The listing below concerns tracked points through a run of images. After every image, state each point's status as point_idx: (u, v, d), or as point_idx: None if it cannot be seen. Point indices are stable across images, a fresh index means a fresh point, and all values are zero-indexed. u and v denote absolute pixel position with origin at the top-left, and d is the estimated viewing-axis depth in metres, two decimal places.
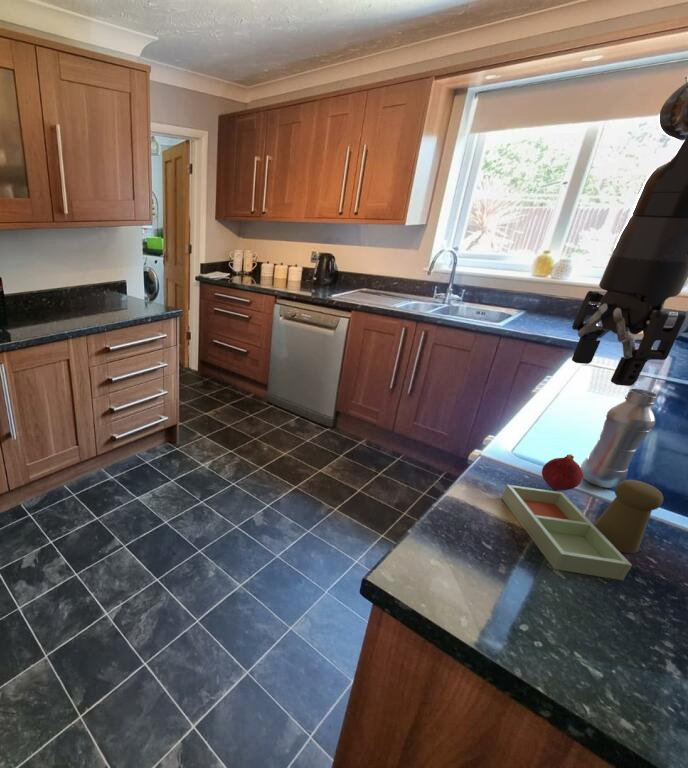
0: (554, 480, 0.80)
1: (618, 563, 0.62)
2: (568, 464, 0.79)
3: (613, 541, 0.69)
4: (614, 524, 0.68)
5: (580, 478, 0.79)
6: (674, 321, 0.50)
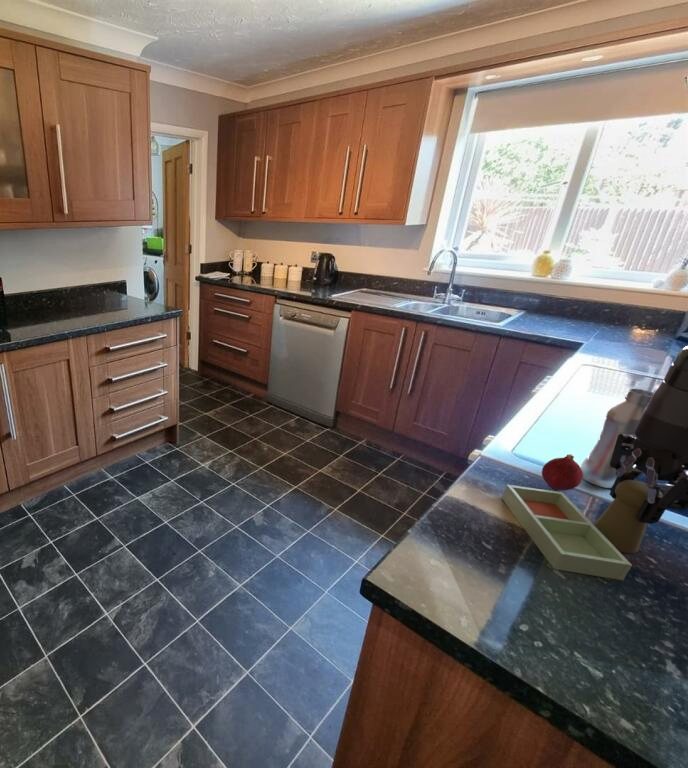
0: (554, 480, 0.80)
1: (618, 563, 0.62)
2: (568, 464, 0.79)
3: (613, 541, 0.69)
4: (614, 524, 0.68)
5: (580, 478, 0.79)
6: None
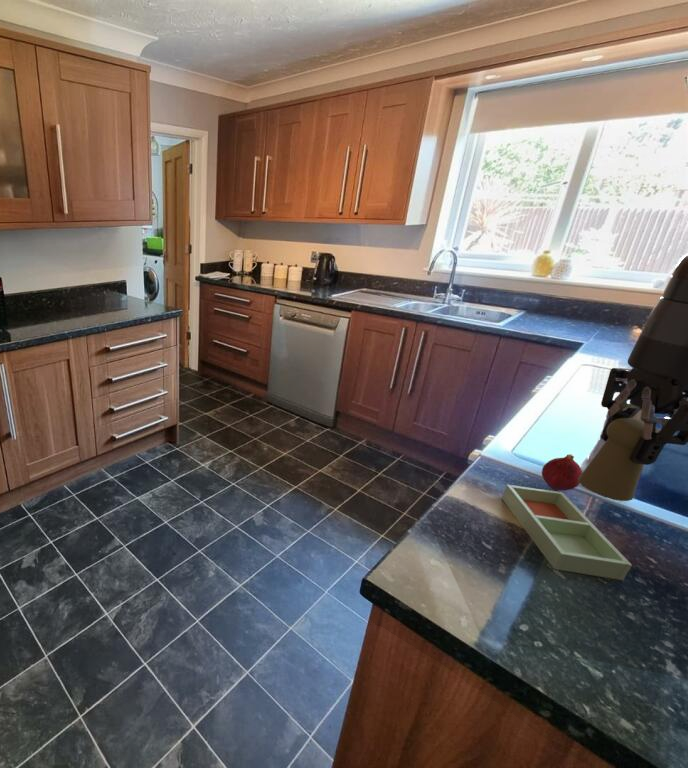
0: (554, 480, 0.80)
1: (618, 563, 0.62)
2: (568, 464, 0.79)
3: (604, 488, 0.61)
4: (605, 468, 0.60)
5: None
6: None
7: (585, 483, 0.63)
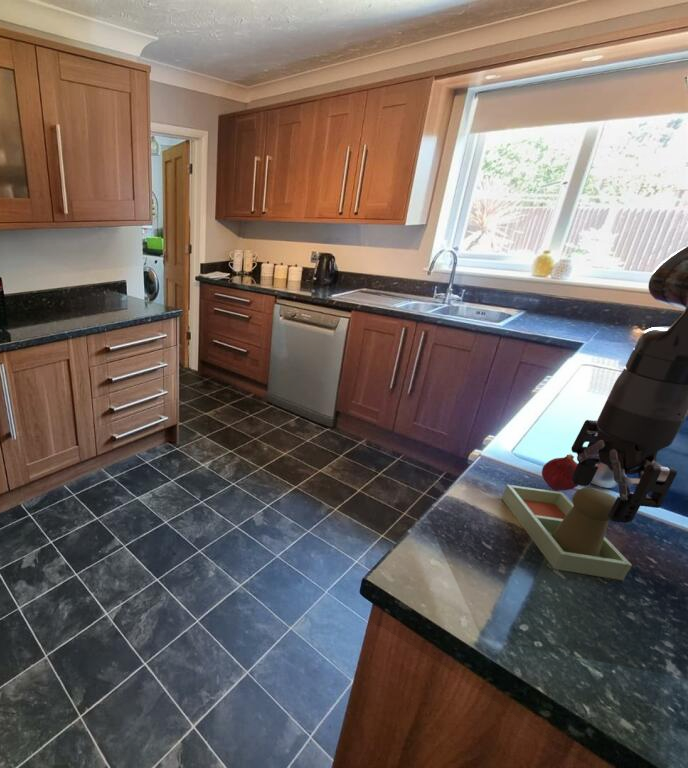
0: (554, 480, 0.80)
1: (618, 563, 0.62)
2: (568, 464, 0.79)
3: (570, 552, 0.65)
4: (571, 534, 0.65)
5: None
6: (666, 476, 0.54)
7: None
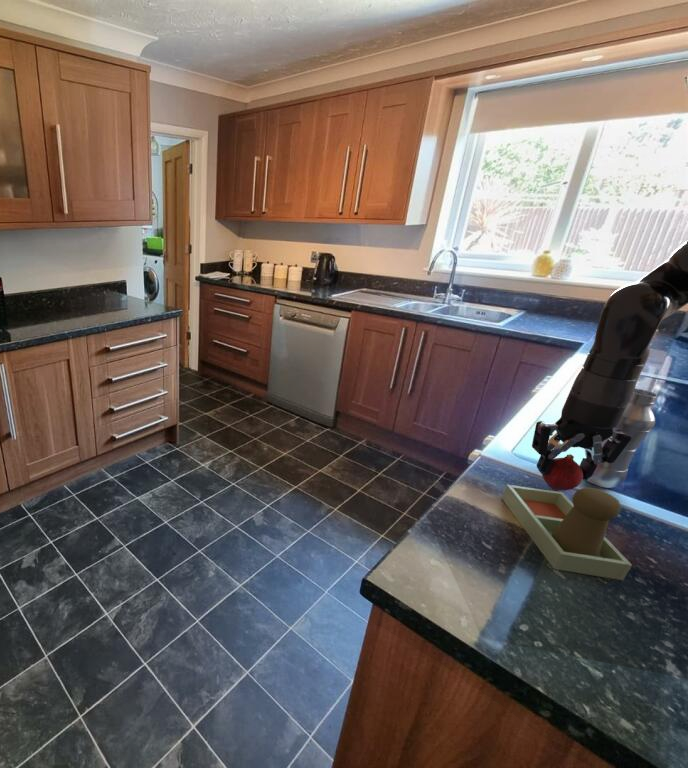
0: (554, 480, 0.80)
1: (618, 563, 0.62)
2: (568, 464, 0.79)
3: (570, 552, 0.65)
4: (571, 534, 0.65)
5: (580, 478, 0.79)
6: (540, 430, 0.79)
7: None
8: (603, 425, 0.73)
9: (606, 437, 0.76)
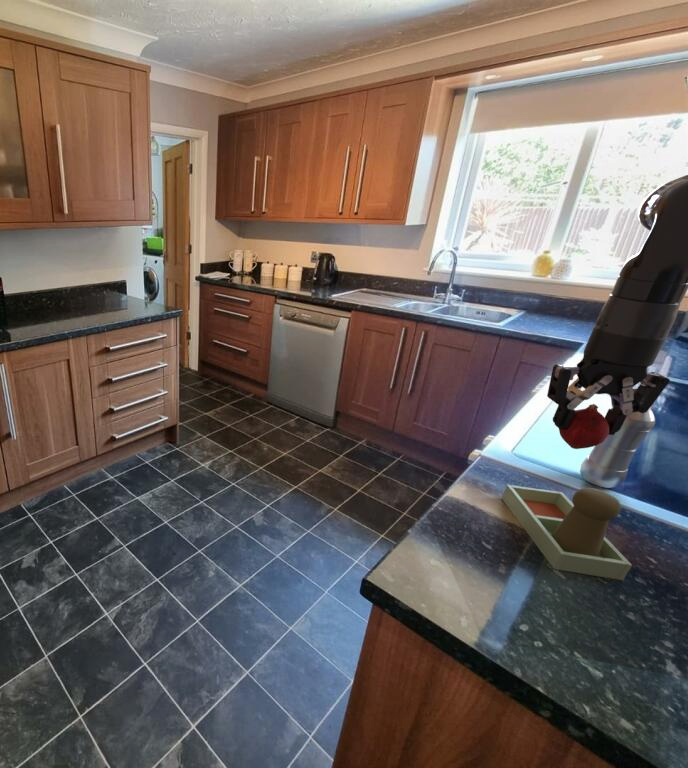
0: (574, 436, 0.67)
1: (618, 563, 0.62)
2: (592, 415, 0.66)
3: (570, 552, 0.65)
4: (571, 534, 0.65)
5: (606, 432, 0.65)
6: (558, 374, 0.65)
7: None
8: (636, 362, 0.60)
9: (638, 380, 0.63)
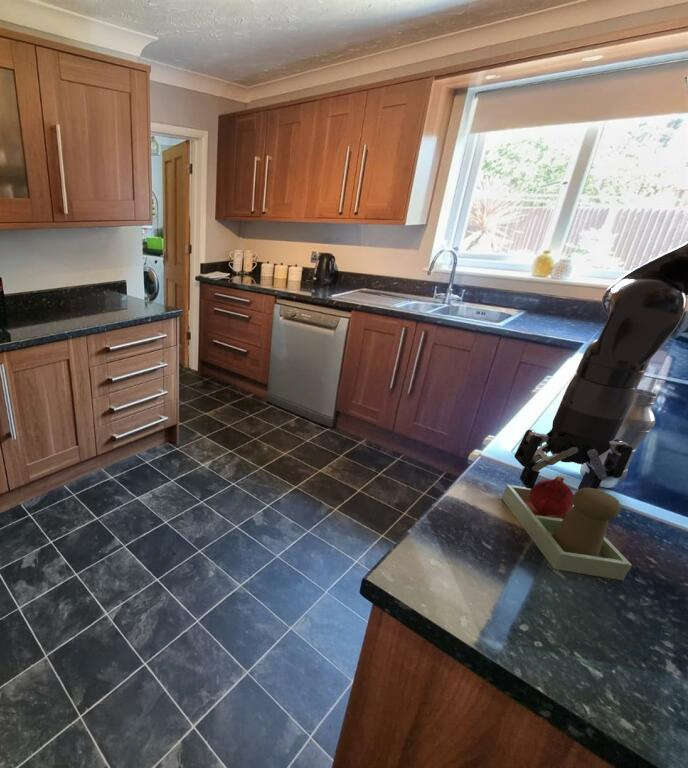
0: (542, 505, 0.72)
1: (618, 563, 0.62)
2: (558, 487, 0.71)
3: (570, 552, 0.65)
4: (571, 534, 0.65)
5: (571, 503, 0.71)
6: (529, 438, 0.70)
7: None
8: (598, 438, 0.64)
9: (602, 451, 0.68)
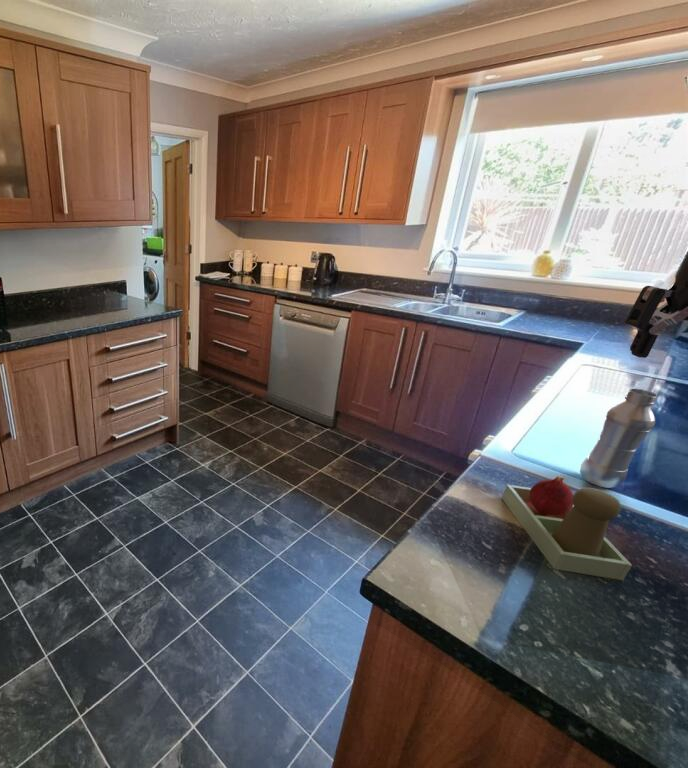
0: (542, 505, 0.72)
1: (618, 563, 0.62)
2: (558, 487, 0.71)
3: (570, 552, 0.65)
4: (571, 534, 0.65)
5: (571, 503, 0.71)
6: (648, 294, 0.61)
7: None
8: None
9: None
